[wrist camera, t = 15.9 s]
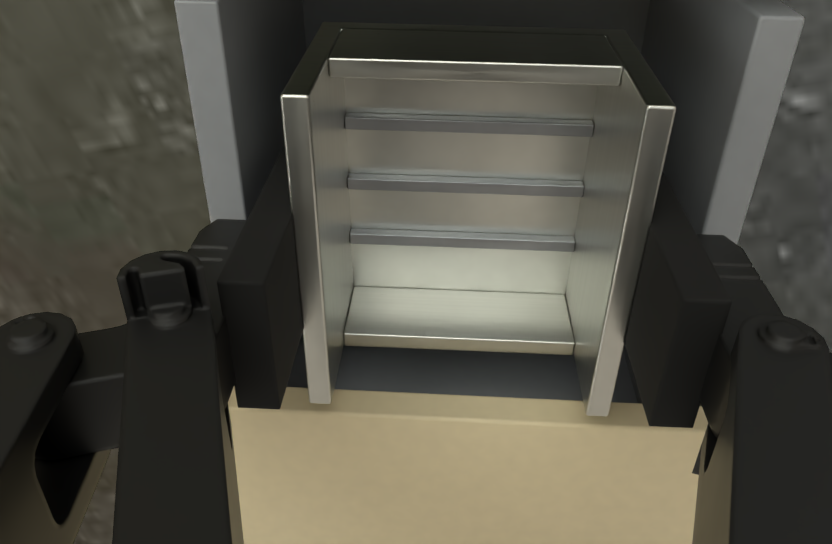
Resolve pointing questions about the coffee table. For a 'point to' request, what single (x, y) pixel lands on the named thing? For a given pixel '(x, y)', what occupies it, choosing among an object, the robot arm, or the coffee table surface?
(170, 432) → the robot arm
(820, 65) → the coffee table surface
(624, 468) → the beige box shell
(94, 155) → the coffee table surface
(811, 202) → the coffee table surface
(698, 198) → the green-front drawer
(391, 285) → the rack
